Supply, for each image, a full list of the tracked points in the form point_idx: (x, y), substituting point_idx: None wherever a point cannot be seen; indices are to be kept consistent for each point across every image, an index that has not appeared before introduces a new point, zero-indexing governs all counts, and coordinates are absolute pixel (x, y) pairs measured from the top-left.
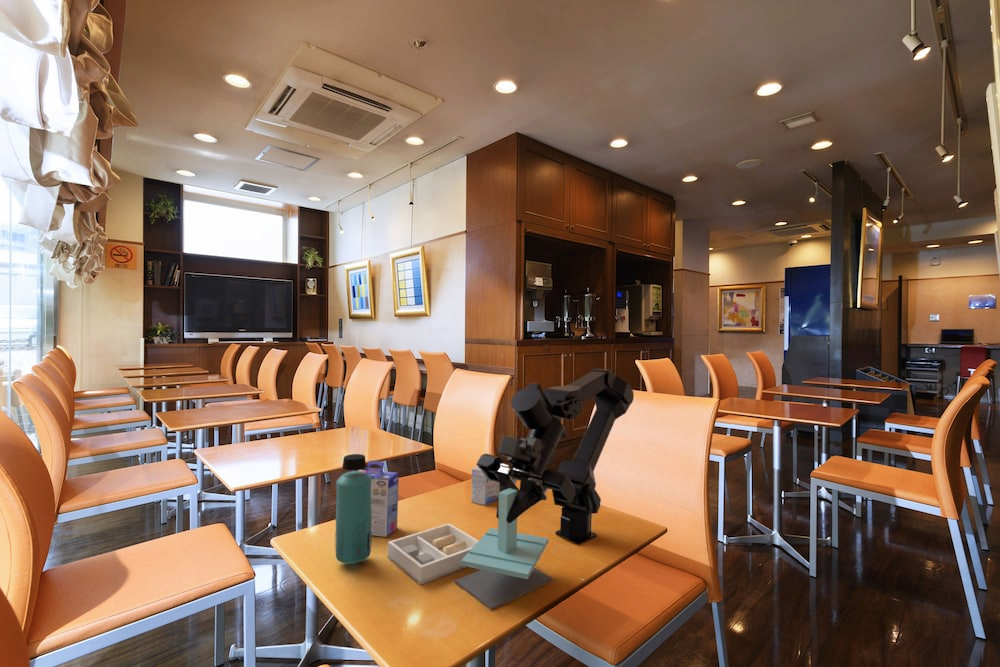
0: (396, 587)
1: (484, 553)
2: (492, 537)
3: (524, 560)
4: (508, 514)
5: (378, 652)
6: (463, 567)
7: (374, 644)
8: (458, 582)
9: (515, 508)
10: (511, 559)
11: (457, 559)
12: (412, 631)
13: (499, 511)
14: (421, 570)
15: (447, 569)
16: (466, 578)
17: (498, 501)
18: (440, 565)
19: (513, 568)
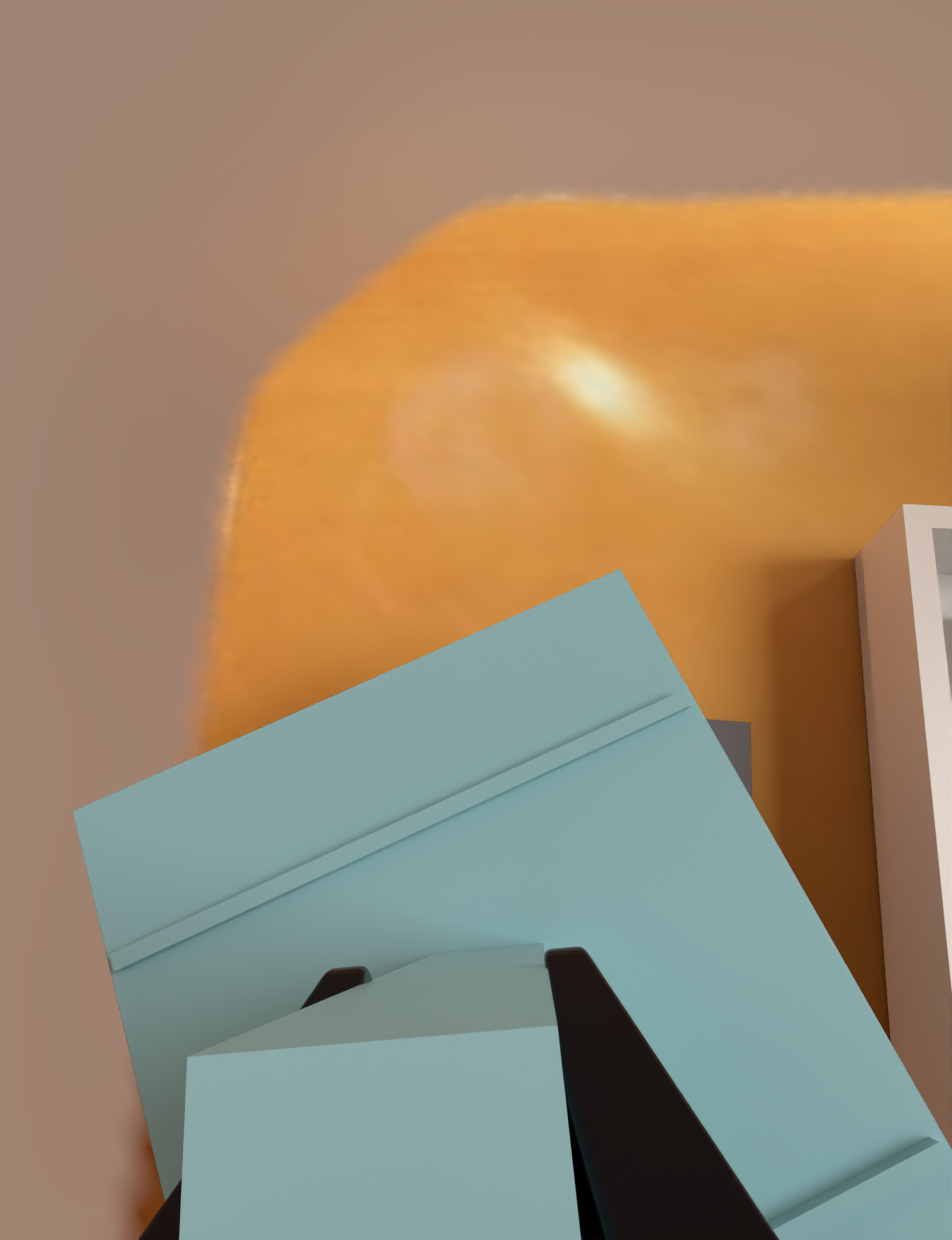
0: (914, 451)
1: (582, 796)
2: (812, 1141)
3: (220, 983)
4: None
5: (507, 202)
6: (883, 907)
7: (558, 209)
8: (711, 724)
9: (180, 1180)
10: (298, 873)
11: (915, 840)
12: (521, 337)
13: (524, 975)
14: (891, 519)
15: (885, 751)
16: None
17: (712, 1157)
18: (901, 677)
19: (218, 794)
